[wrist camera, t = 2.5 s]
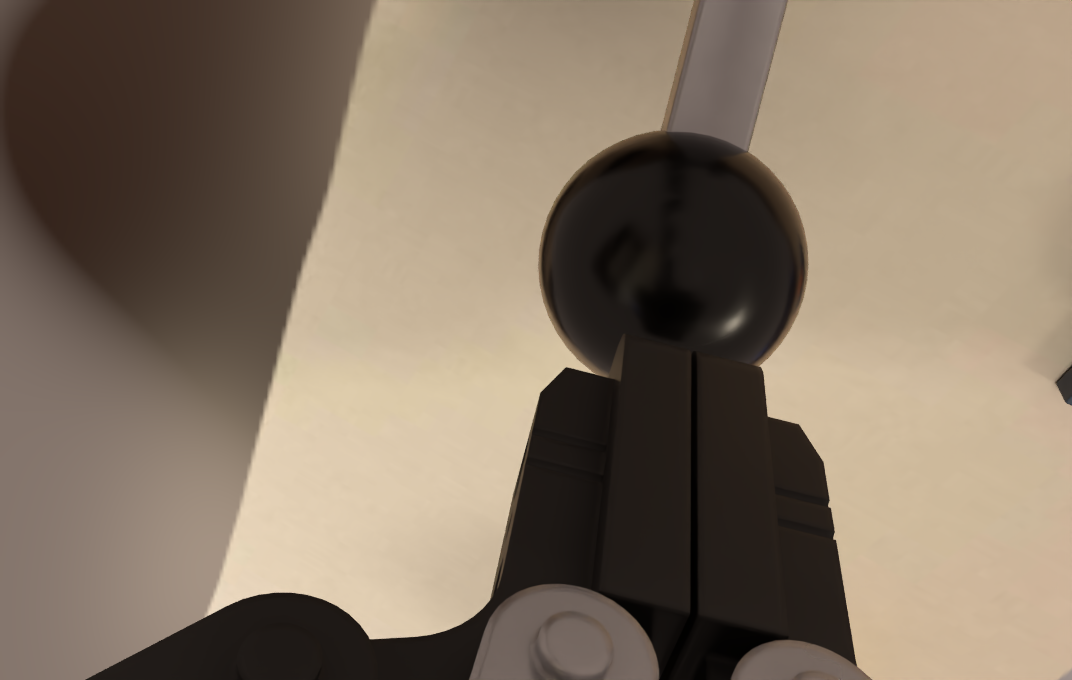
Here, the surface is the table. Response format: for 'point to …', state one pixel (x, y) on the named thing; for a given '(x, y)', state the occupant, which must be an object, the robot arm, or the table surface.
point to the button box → (1066, 387)
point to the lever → (683, 214)
